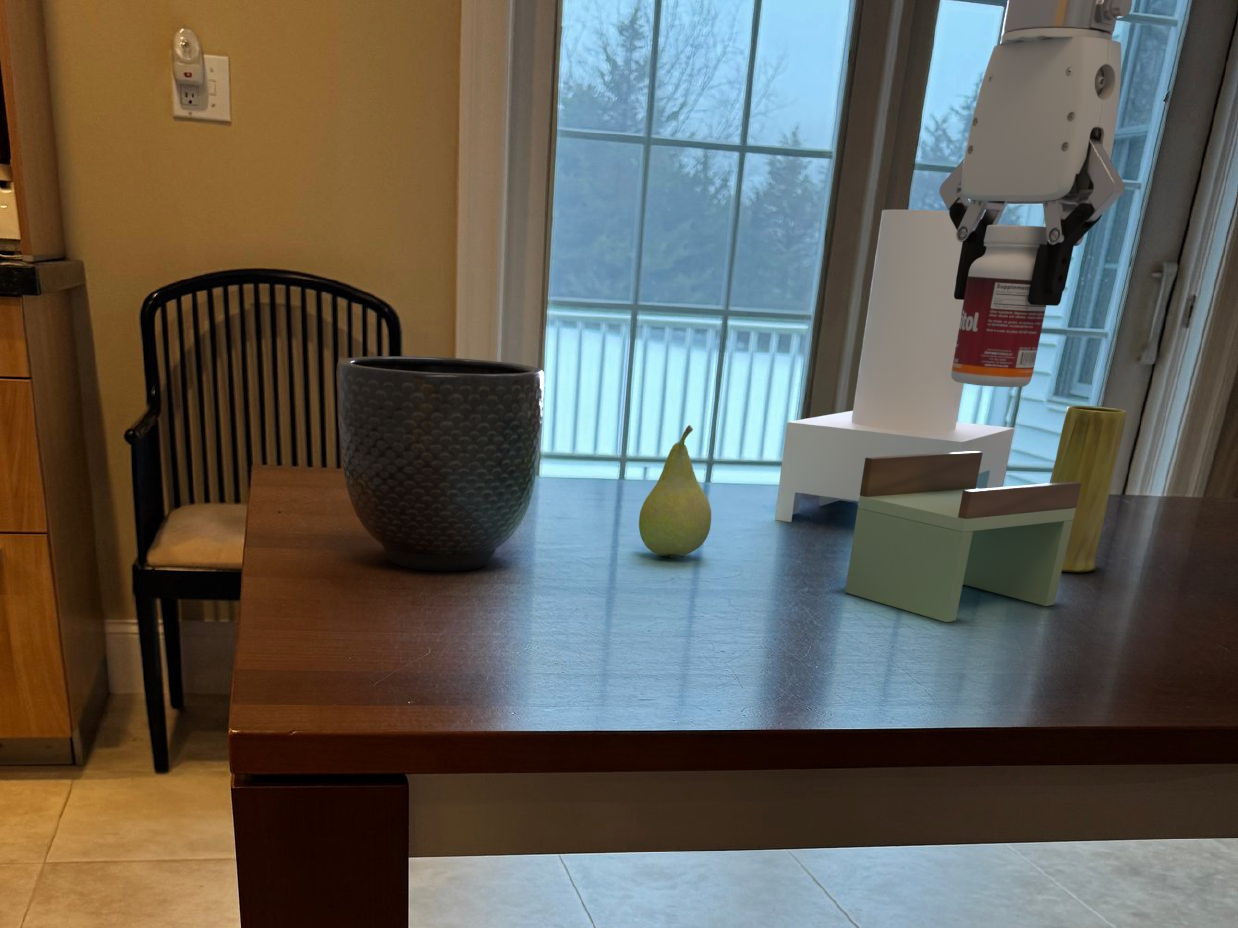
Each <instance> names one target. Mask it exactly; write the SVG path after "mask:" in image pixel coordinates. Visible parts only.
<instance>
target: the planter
mask: <svg viewBox="0 0 1238 928" xmlns="http://www.w3.org/2000/svg"><path fill="white" fill-rule="evenodd" d="M545 384H546V383H545V373H544V371H543V369H541V368H540V367H536V366H532V365H527V364H520V363H513V362H506V361H505V362H504V361H495V360H485V359H484V360H483V359H473V358H459V357H458V358H456V357H438V356H437V357H436V356H406V355H403V356H401V355H395V356H394V355H390V356H389V355H387V356H386V355H384V356H383V355H382V356H381V355H380V356H358V357H357V356H356V357H347V358H342V359H339V360H338V362H337V364H336V395H337V396H336V398H337V399H336V400H337V401H336V402H337V421H338V433H339V445H340V453H341V461H342V467H343V468H342V469H343V475H344V480H345V481H344V482H345V485H346V490H347V494H348V497H349V500H350V503H351V505H352V508H353V510H354V513H355V515H356V517H357V518H358V520H359V522H360V523H361V524H362V525H361V526H363V527H364V529H365V530H366V532H368V534H369V535H370V536H371V537H372V538H373V539H374V540H376V541H377V542H378V543H380V545H381V546H382V547H383V550H384V552H385V555H386V556H387V558H388V559H389V561H390V562H392V563H393V564H395V565H398V566H401V567H404V568H407V569H413V570H419V571H428V572H462V571H463V572H464V571H472V570H476V569H480V568H483V567H485V566H487V565H488V564H490V563H491V561H492V559H493V557H494V555H495V552H496V550H497V549H498V548H499V547H501V546H502V545H503V544H505V543H506V542H507V541H508V540H509V539H510V538H511V537H512V536H513V535H514V534H515V532H516V531H517V530H518V529H519V527H520V526H521V525H522V522H523V520H524V518H525V517H526V514H527V511H528V509H529V506H530V503H531V500H532V496H533V492H534V488H535V485H536V478H537V471H538V464H539V459H540V450H541V442H542V441H541V440H542V431H543V421H544V419H543V418H544V401H545V399H544V398H545Z"/></svg>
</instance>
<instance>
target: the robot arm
mask: <svg viewBox="0 0 1238 928" xmlns="http://www.w3.org/2000/svg"><path fill="white" fill-rule="evenodd" d="M1132 5H1133V0H1007V3H1006V9H1005V14H1004V20H1003V26H1002V32H1001V36H1000V42H999V45H998V44H997V45H994V46H993V49H992V52H991V54H990V57H989V59H988V63H987V66H986V69H985V72H984V76H983V78H982V81H981V86H980V88H979V92H978V95H977V99H976V103H975V107H974V111H973V115H972V119H971V122H970V128H969V132H968V135H967V142H966V146H965V151H964V157H963V159H962V160H961V161H960V163H958V165H957V166H956V167H955V168H954V169H953V170H952V172H951V173H949V175H948V176H947V177H946V179H944V181H943V182H942V183H941V185H939V195H940V198H941V199H942V201H943V203H944V205H945V207H946V209H947V211H949V215H950V218H951V220H952V222H953V224H954V226H955V228H956V230H957V233H956V237H957V240H958V241H960V242H963V243H962V248H961V254H960V260H959V266H958V271H957V277H956V285H955V291H954V298H955V299H958V300H964V296H965V290H966V285H967V278H968V274H969V269H970V267H971V265H972V263H973V262H974V261H975V260H976V259H978V258H980V257H982V256H983V255H984V254H985V252H986V246H984V238H985V234H986V229H987V226H988V225H998V223H999V222H1000V219H1001V217H1002V215H1003V214H1004V211H1005V209H1006V207H1007V205H1042V208H1043V216H1044V217H1043V218H1044V225H1045V226H1044V227H1046V234H1047V244H1040V246H1039V248H1038V250H1037V255H1036V260H1035V265H1034V270H1033V275H1032V280H1031V285H1030V290H1029V295H1028V302H1029V303H1030V304H1031V305H1046V306H1052V307H1056V306H1057V307H1058V306H1059V305H1060V304H1061V301H1062V298H1063V297H1062V296H1063V292H1064V291H1065V288H1066V286H1067V281H1068V276H1069V271H1070V266H1071V262H1072V257H1073V252H1074V248H1075V247H1077V246H1079V245H1080V244H1082V242H1083V240H1084V237H1085V235H1086V234H1087V233H1088V232H1089V231H1090V230H1091V229H1092V228H1093V227H1094V226H1095V225H1096V224H1097V223H1098V222H1099V221H1100V220H1101V218H1102V217H1103V214H1104V213H1105V212H1107V211H1108V210H1109V209H1110V208H1111V206H1113V205H1114V203H1115V202H1116V201H1117V200H1118V199H1120V197H1122V195H1123V194H1124V193H1125V190H1126V185H1125V183H1124V181H1123V179H1122V178H1121V176H1120V174H1119V172H1118V171H1117V168H1116V167H1115V165H1114V163H1113V162H1112V154H1113V149H1114V144H1115V143H1114V141H1115V136H1116V128H1117V122H1118V114H1119V105H1120V98H1121V97H1120V94H1121V83H1122V82H1121V81H1122V43H1121V42H1120V41H1117V40H1114V39H1113V35H1114V32H1115V28H1116V23H1117V20H1118V19H1119V18H1125V17H1127V16H1128V15H1129V14H1130V12H1131V10H1132V7H1133V6H1132ZM983 213H984V215H983ZM982 215H983V217H982ZM981 217H982V219H981Z"/></svg>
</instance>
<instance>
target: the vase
mask: <svg viewBox="0 0 1238 928" xmlns="http://www.w3.org/2000/svg"><path fill="white" fill-rule="evenodd" d="M1127 413H1128V411H1127V410H1125V409H1121V408H1116V407H1106V406H1096V405H1068V406H1067V407H1066V410H1065V414H1064V415H1065V416H1064V419H1063V420H1064V421H1063V424H1062V428H1061V433H1060V436H1059V441H1058V445H1057V449H1056V457H1055V460H1054V464H1053V468H1052V472H1051V476H1050V480H1049V483H1059V482H1071V481H1075V482H1081V483H1082V484H1081V488H1080V493H1079V497H1078V501H1077V506H1076V510H1075V514H1074V519H1073V524H1072V528H1071V532H1070V537H1069V541H1068V545H1067V550H1066V554H1065V559H1064V563H1063V567H1062V572H1061V573H1074V574H1076V573H1077V574H1078V573H1079V574H1080V573H1089V572H1092V571H1094V570H1095V569H1096V555H1097V551H1098V546H1099V543H1100V539H1101V535H1102V532H1103V526H1104V523H1105V518H1106V513H1107V507H1108V503H1109V498H1110V494H1111V489H1112V484H1113V478H1114V474H1115V470H1116V464H1117V460H1118V455H1119V450H1120V446H1121V442H1122V439H1123V434H1124V430H1125V425H1126V420H1127Z"/></svg>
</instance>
